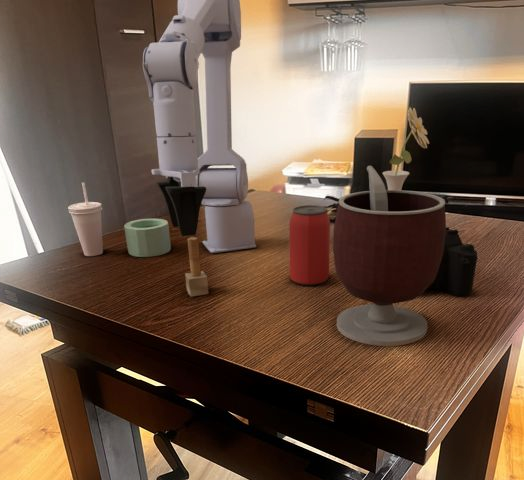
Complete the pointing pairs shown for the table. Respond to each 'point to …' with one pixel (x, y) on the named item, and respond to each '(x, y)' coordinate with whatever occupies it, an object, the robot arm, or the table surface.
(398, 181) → the flower in vase
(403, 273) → the mate gourd
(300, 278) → the beer can
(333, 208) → the toy figure
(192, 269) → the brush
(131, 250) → the pale green hollow ring
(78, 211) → the smoothie
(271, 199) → the table surface
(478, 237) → the table surface
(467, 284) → the film camera
